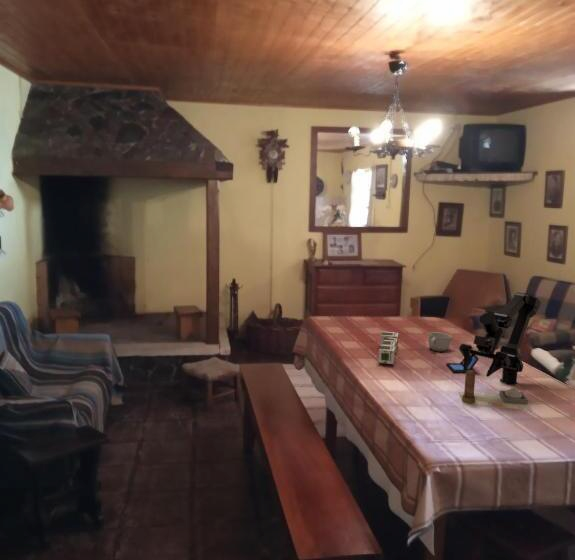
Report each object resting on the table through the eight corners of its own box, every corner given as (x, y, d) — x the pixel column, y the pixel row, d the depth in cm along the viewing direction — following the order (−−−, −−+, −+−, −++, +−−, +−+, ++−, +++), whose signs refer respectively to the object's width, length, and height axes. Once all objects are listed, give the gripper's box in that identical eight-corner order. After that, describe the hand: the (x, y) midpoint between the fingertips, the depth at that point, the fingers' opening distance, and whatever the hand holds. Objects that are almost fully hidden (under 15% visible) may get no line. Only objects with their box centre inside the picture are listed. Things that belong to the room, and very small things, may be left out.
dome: (503, 395, 216) (504, 385, 216) (519, 396, 215) (520, 386, 215) (506, 400, 210) (507, 390, 210) (523, 401, 209) (524, 391, 209)
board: (458, 393, 221) (458, 387, 220) (522, 398, 217) (523, 391, 216) (462, 406, 207) (463, 400, 207) (531, 412, 203) (532, 405, 203)
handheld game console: (445, 365, 257) (446, 349, 256) (469, 365, 257) (470, 350, 256) (453, 374, 245) (454, 357, 244) (478, 374, 245) (479, 358, 244)
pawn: (461, 398, 213) (463, 368, 211) (474, 399, 212) (476, 368, 210) (463, 403, 208) (465, 371, 207) (475, 404, 208) (478, 372, 206)
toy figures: (381, 345, 289) (382, 331, 288) (398, 346, 287) (398, 332, 285) (374, 365, 255) (375, 349, 254) (393, 366, 253) (394, 350, 252)
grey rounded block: (436, 345, 289) (437, 330, 288) (454, 350, 281) (455, 335, 279) (419, 350, 280) (420, 334, 279) (438, 355, 272) (439, 339, 271)
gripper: (462, 323, 219) (446, 355, 213) (509, 332, 206) (493, 367, 200) (471, 339, 226) (455, 371, 220) (517, 349, 212) (501, 383, 206)
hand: (475, 373), depth 211 cm, fingers open, 9 cm apart
